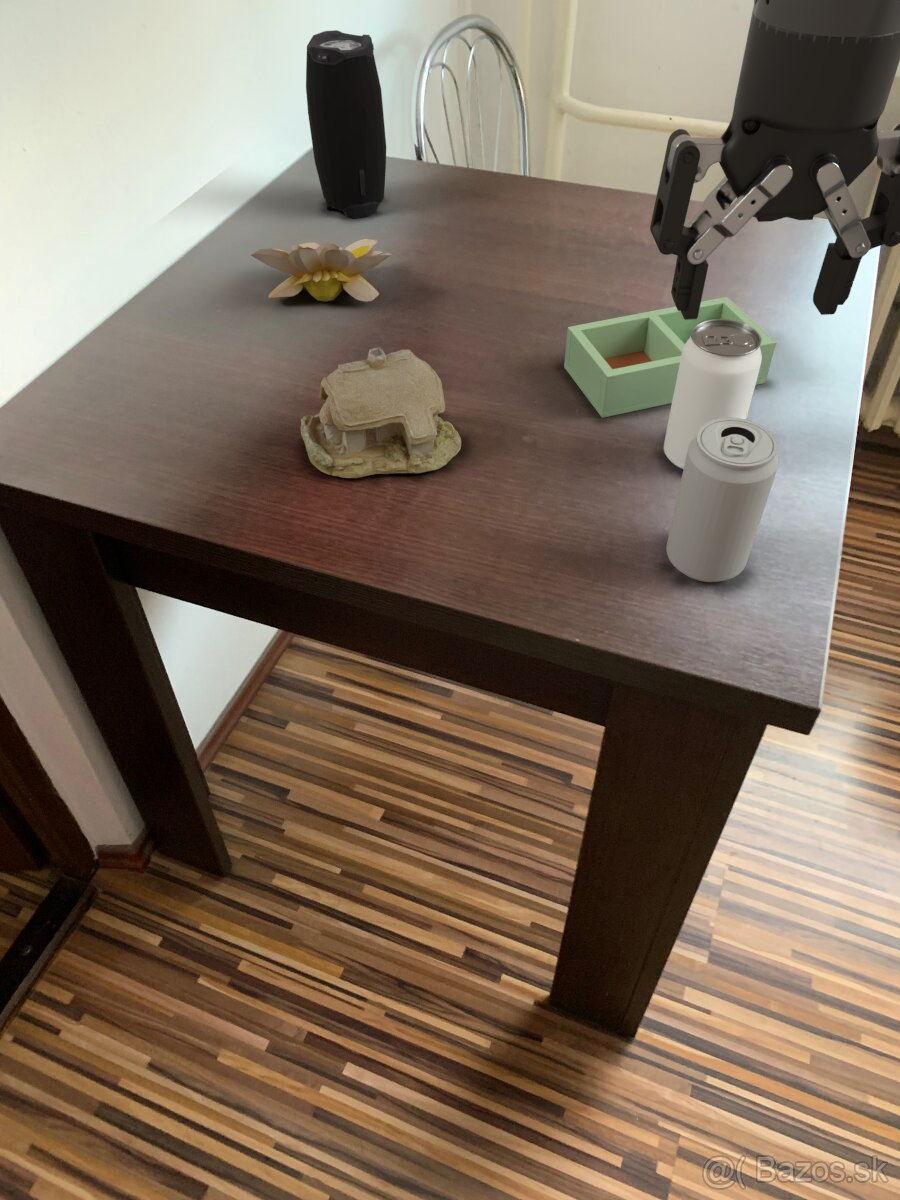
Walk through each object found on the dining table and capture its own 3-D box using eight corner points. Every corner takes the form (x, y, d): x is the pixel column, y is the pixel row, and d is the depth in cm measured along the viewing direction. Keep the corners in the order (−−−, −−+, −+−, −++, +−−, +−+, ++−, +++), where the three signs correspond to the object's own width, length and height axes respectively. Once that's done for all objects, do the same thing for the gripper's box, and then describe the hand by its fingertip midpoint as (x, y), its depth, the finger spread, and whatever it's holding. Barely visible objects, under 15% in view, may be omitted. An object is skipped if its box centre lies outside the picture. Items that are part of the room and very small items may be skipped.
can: (741, 476, 79) (775, 357, 70) (668, 477, 79) (693, 358, 70) (727, 432, 83) (757, 315, 74) (657, 433, 83) (679, 316, 74)
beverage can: (749, 542, 73) (787, 422, 64) (740, 596, 69) (779, 475, 60) (671, 526, 74) (698, 406, 65) (658, 578, 70) (685, 457, 61)
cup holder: (765, 383, 88) (776, 342, 85) (602, 418, 85) (607, 376, 81) (717, 336, 94) (726, 296, 91) (563, 367, 91) (567, 326, 88)
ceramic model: (433, 398, 88) (430, 304, 80) (474, 463, 80) (475, 368, 73) (295, 429, 85) (278, 335, 77) (325, 501, 77) (309, 404, 70)
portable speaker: (323, 193, 121) (303, 29, 107) (391, 192, 121) (380, 27, 107) (317, 221, 115) (295, 50, 101) (389, 219, 115) (377, 48, 101)
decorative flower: (407, 252, 105) (392, 175, 96) (395, 320, 100) (379, 245, 91) (286, 256, 107) (261, 182, 99) (268, 323, 102) (240, 250, 93)
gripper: (707, 34, 41) (654, 348, 52) (1012, 24, 41) (891, 338, 53) (672, -8, 46) (630, 286, 58) (944, -18, 46) (847, 277, 58)
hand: (755, 311), depth 55 cm, fingers open, 8 cm apart
